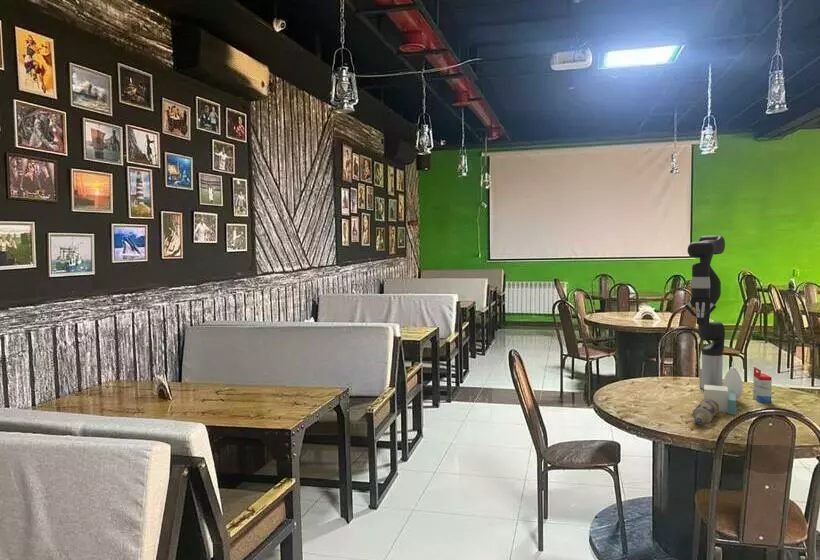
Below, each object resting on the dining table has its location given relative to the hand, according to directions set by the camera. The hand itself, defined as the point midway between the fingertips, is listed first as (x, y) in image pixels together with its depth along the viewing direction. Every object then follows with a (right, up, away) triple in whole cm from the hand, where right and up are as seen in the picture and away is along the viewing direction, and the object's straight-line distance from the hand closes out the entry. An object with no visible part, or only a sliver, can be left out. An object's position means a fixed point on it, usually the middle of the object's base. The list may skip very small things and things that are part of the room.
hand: (700, 325), depth 260 cm
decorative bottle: (-11, -37, -23) cm, 45 cm away
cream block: (+4, -36, -6) cm, 36 cm away
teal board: (+9, -35, -9) cm, 38 cm away
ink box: (+30, -35, +5) cm, 46 cm away
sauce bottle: (+17, -35, +5) cm, 39 cm away
